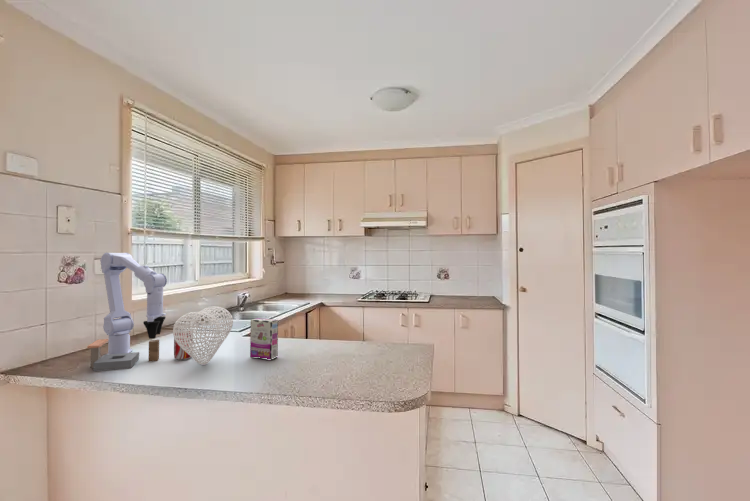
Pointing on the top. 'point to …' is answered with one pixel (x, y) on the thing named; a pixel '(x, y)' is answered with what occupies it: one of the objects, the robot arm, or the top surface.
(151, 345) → the peg
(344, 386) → the top surface
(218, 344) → the heart
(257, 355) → the candy bar box
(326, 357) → the top surface
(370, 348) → the top surface
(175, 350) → the soda can
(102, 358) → the socket block
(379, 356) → the top surface
